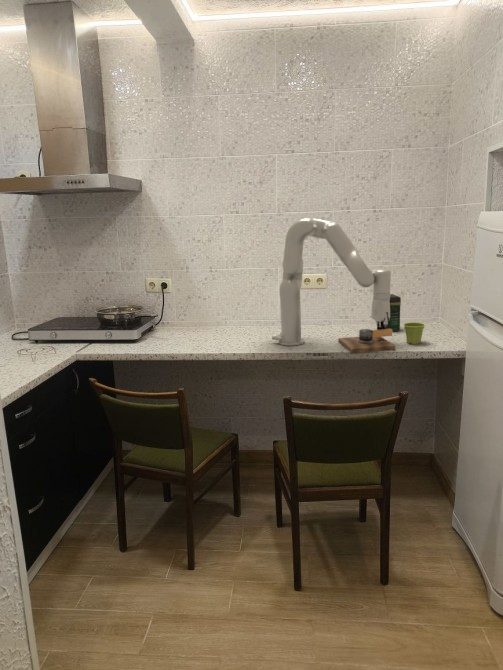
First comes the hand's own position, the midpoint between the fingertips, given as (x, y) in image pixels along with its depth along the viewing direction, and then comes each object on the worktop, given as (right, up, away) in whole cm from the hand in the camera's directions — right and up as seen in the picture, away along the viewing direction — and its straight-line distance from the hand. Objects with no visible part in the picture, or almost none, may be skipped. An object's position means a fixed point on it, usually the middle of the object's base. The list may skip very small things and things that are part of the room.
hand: (380, 334), depth 226 cm
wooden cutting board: (-8, -5, -4) cm, 10 cm away
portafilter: (-3, -2, -4) cm, 5 cm away
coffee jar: (+12, +2, +25) cm, 28 cm away
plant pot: (+15, -4, -1) cm, 15 cm away
